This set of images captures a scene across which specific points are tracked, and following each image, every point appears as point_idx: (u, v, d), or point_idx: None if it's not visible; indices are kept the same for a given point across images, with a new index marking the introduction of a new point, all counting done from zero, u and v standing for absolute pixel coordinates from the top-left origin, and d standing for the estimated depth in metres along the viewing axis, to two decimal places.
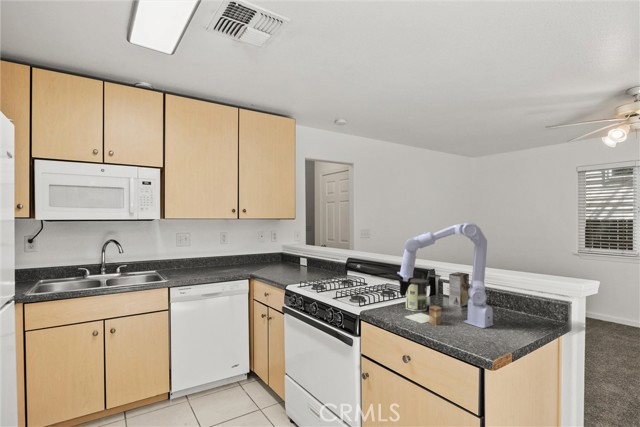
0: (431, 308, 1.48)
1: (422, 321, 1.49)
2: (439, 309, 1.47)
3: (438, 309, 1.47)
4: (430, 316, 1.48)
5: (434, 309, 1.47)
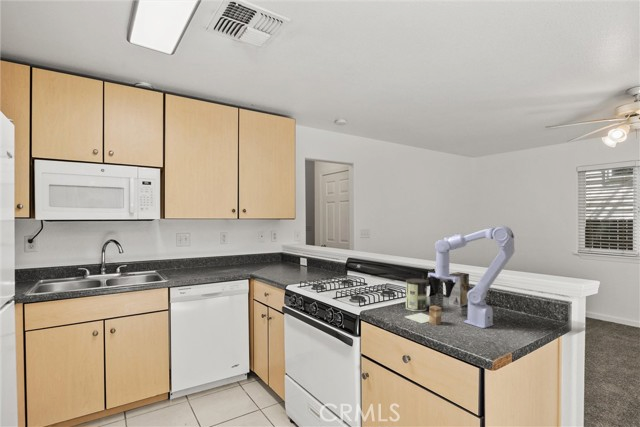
0: (431, 308, 1.48)
1: (422, 321, 1.49)
2: (439, 309, 1.47)
3: (438, 309, 1.47)
4: (430, 316, 1.48)
5: (434, 309, 1.47)
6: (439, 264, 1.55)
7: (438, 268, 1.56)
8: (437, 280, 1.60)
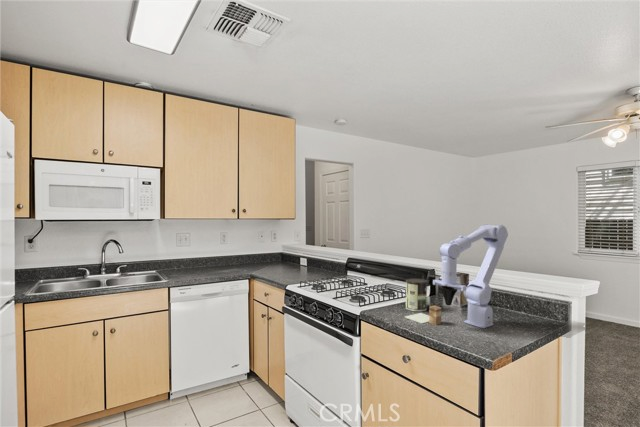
0: (431, 308, 1.48)
1: (422, 321, 1.49)
2: (439, 309, 1.47)
3: (438, 309, 1.47)
4: (430, 316, 1.48)
5: (434, 309, 1.47)
6: (452, 271, 1.40)
7: (444, 275, 1.41)
8: None
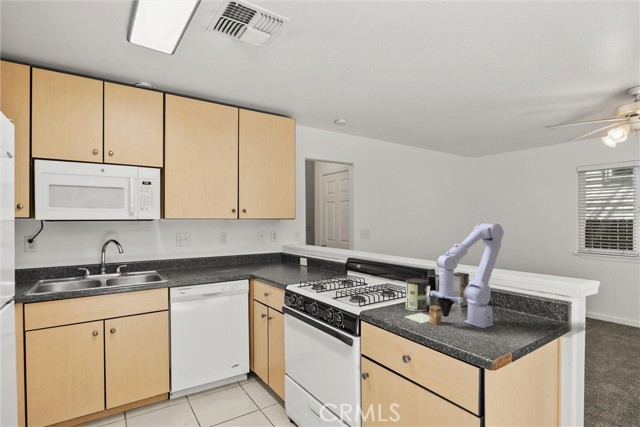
0: (431, 308, 1.48)
1: (422, 321, 1.49)
2: (439, 309, 1.47)
3: (438, 309, 1.47)
4: (430, 316, 1.48)
5: (434, 309, 1.47)
6: (449, 283, 1.41)
7: (441, 287, 1.42)
8: None
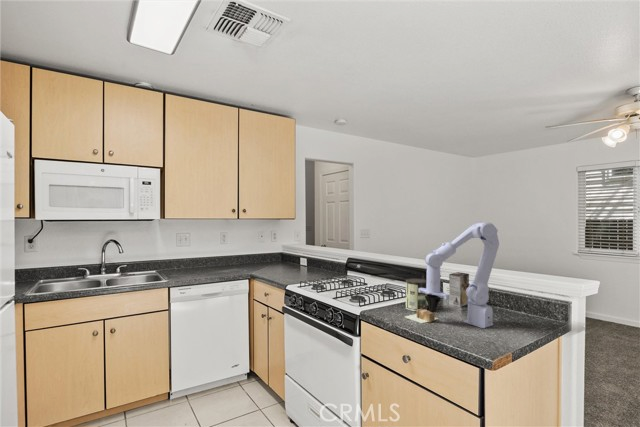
0: (417, 315, 1.54)
1: (422, 321, 1.49)
2: (421, 309, 1.55)
3: (420, 309, 1.55)
4: (423, 318, 1.51)
5: (417, 312, 1.54)
6: (433, 280, 1.47)
7: (428, 284, 1.48)
8: None
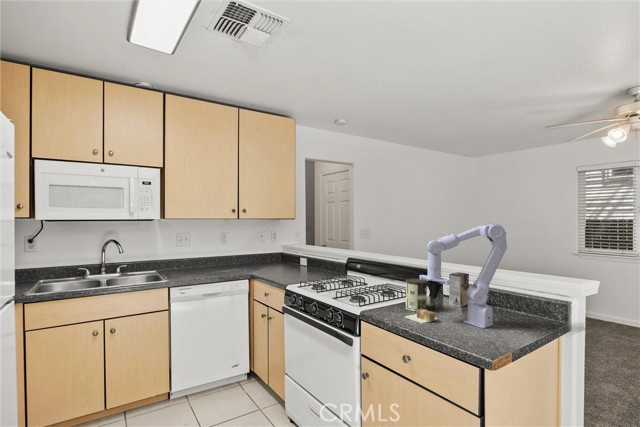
0: (417, 315, 1.54)
1: (422, 321, 1.49)
2: (421, 309, 1.55)
3: (420, 309, 1.55)
4: (423, 318, 1.51)
5: (417, 312, 1.54)
6: (433, 266, 1.49)
7: (430, 270, 1.50)
8: None
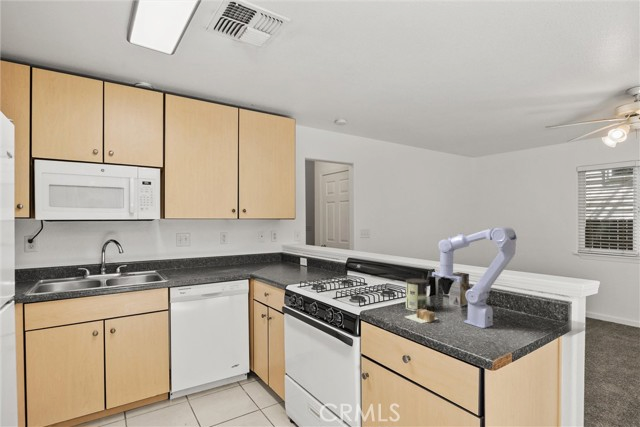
0: (417, 315, 1.54)
1: (422, 321, 1.49)
2: (421, 309, 1.55)
3: (420, 309, 1.55)
4: (423, 318, 1.51)
5: (417, 312, 1.54)
6: (442, 263, 1.57)
7: (442, 267, 1.57)
8: None
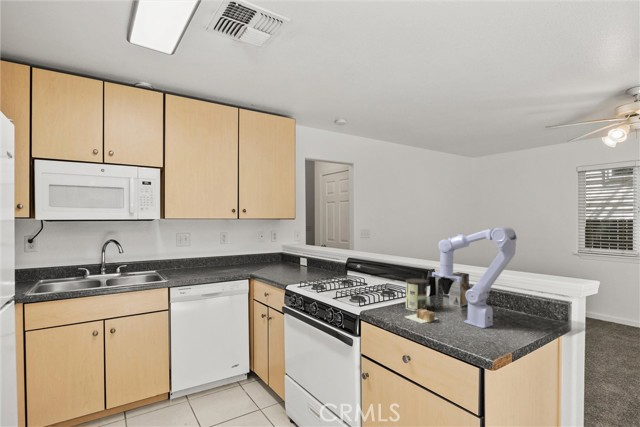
0: (417, 315, 1.54)
1: (422, 321, 1.49)
2: (421, 309, 1.55)
3: (420, 309, 1.55)
4: (423, 318, 1.51)
5: (417, 312, 1.54)
6: (442, 263, 1.57)
7: (442, 267, 1.57)
8: None
